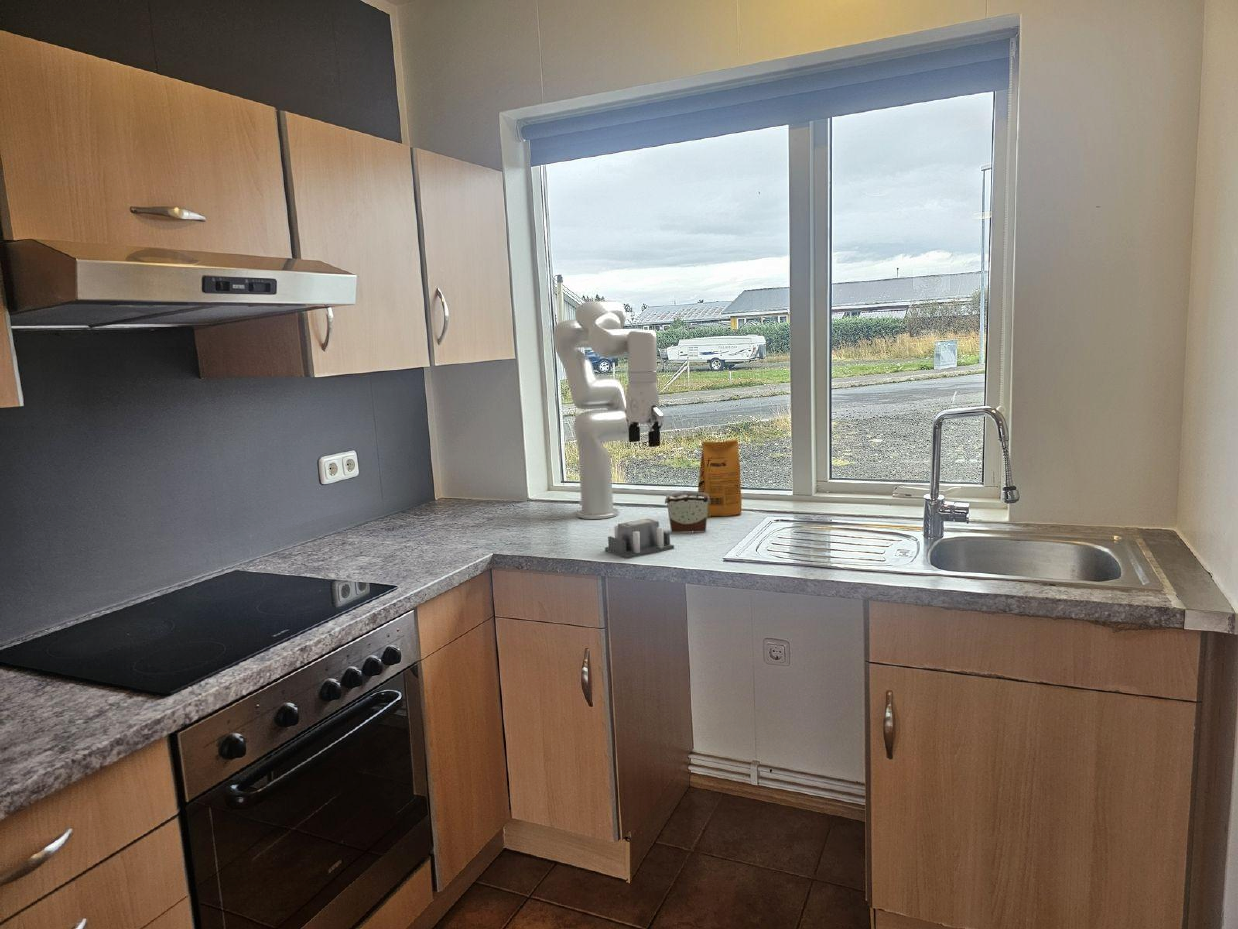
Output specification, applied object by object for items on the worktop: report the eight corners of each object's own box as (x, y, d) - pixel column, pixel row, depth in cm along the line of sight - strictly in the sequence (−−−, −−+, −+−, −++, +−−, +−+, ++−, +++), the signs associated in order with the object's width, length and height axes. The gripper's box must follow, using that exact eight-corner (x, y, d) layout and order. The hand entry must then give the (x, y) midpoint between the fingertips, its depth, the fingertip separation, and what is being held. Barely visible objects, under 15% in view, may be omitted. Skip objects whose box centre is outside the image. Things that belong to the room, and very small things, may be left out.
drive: (618, 547, 202) (617, 523, 201) (648, 541, 206) (647, 517, 205) (629, 551, 197) (628, 526, 196) (659, 545, 202) (658, 520, 201)
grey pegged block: (605, 550, 202) (603, 527, 202) (651, 541, 210) (650, 519, 209) (626, 558, 194) (625, 535, 193) (674, 548, 201) (673, 525, 200)
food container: (711, 526, 223) (710, 491, 222) (711, 531, 217) (710, 495, 216) (666, 527, 224) (665, 492, 223) (665, 532, 218) (664, 496, 217)
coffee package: (697, 511, 244) (695, 439, 241) (738, 509, 244) (736, 437, 241) (701, 518, 234) (698, 443, 231) (743, 516, 234) (742, 441, 231)
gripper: (613, 377, 213) (615, 441, 217) (648, 381, 199) (649, 449, 202) (637, 375, 217) (639, 438, 220) (673, 379, 202) (674, 446, 205)
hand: (644, 443), depth 211 cm, fingers open, 9 cm apart
